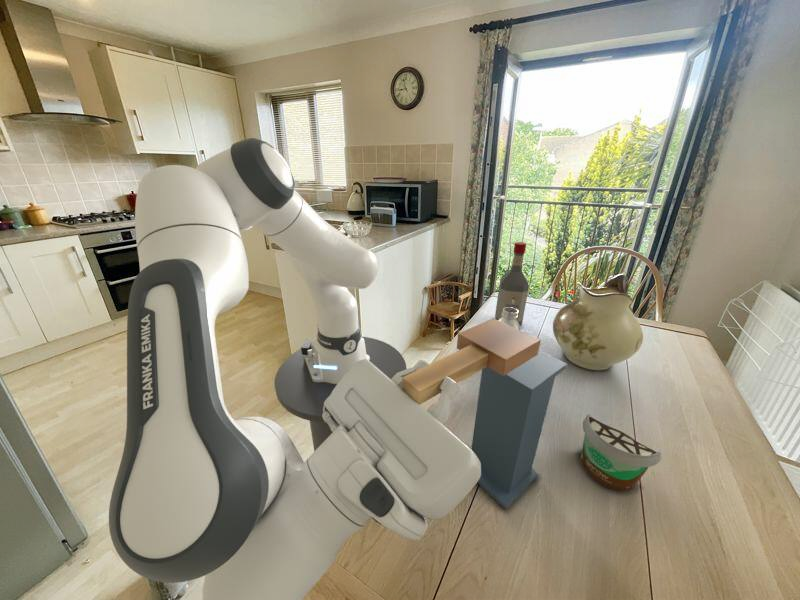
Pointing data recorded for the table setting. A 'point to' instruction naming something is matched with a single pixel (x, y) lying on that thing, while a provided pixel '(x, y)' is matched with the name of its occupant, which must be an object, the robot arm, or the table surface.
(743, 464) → the table surface
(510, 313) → the plastic bottle
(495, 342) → the mallet
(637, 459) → the food container
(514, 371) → the pedestal stand
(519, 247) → the liquor
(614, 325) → the pitcher
